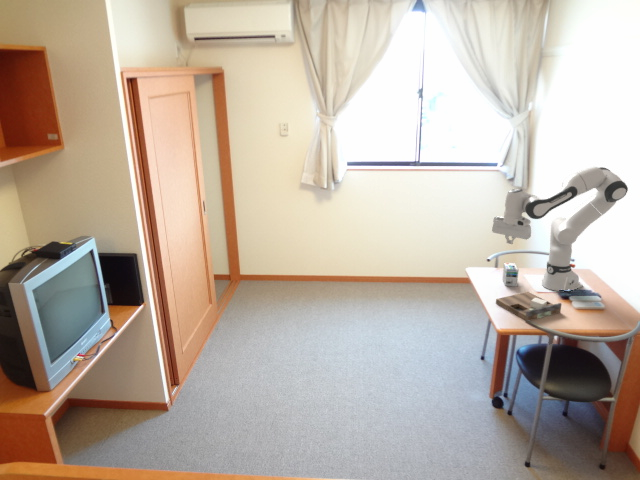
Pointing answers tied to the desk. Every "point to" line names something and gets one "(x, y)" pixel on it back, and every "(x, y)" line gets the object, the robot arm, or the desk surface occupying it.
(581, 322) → the desk surface
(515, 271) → the light bulb box
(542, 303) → the block
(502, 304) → the board
